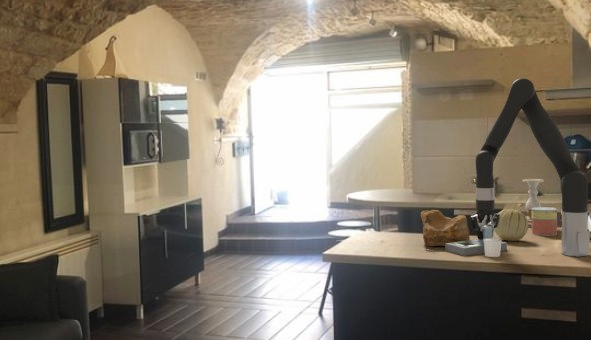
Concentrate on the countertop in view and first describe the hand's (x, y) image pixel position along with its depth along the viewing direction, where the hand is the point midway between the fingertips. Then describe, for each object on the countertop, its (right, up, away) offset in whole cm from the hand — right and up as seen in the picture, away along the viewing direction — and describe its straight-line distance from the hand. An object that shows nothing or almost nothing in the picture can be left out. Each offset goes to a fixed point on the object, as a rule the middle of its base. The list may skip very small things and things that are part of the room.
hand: (485, 238), depth 251 cm
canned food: (+39, -2, +34) cm, 52 cm away
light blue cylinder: (0, -4, 0) cm, 4 cm away
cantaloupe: (+17, -3, +19) cm, 26 cm away
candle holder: (+42, 0, +56) cm, 71 cm away
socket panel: (-4, -5, -2) cm, 7 cm away
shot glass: (-1, -6, -12) cm, 14 cm away
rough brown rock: (-17, -5, +12) cm, 21 cm away
